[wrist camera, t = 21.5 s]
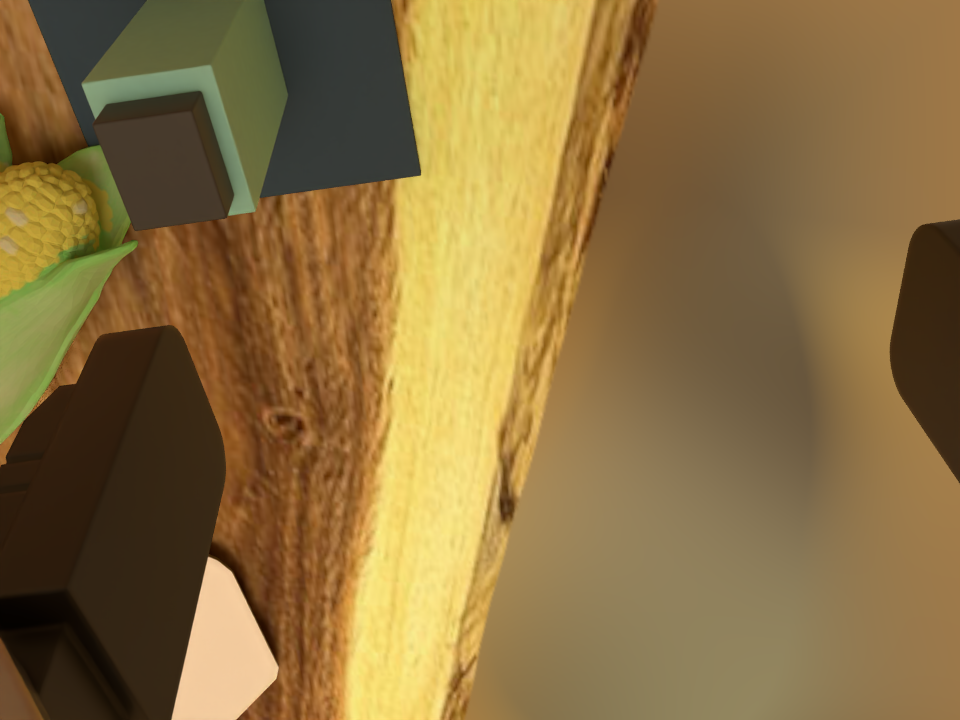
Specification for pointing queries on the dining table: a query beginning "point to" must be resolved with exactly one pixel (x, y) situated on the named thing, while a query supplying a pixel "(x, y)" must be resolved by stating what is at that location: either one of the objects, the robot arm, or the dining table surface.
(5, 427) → the corn
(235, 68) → the green block
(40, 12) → the mat
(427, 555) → the dining table surface
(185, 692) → the plate
